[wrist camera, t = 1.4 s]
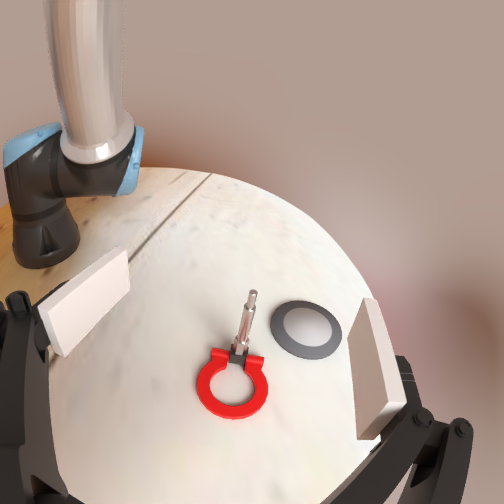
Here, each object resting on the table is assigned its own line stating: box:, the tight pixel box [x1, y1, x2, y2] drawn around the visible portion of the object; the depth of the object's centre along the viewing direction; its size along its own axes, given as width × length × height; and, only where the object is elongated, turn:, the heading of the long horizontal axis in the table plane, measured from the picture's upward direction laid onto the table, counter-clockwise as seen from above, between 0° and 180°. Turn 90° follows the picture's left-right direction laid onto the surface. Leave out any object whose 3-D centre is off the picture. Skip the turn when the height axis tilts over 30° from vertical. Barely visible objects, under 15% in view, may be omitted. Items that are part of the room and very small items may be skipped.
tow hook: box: [197, 290, 268, 420], centre depth 27 cm, size 8×13×9 cm
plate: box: [271, 301, 342, 359], centre depth 40 cm, size 11×11×1 cm
